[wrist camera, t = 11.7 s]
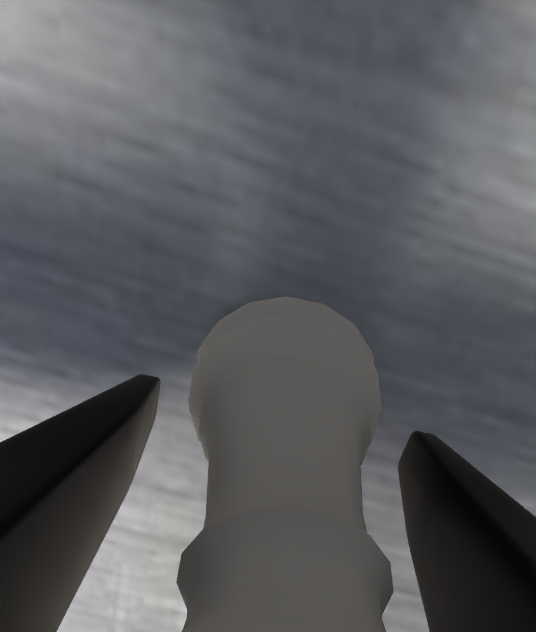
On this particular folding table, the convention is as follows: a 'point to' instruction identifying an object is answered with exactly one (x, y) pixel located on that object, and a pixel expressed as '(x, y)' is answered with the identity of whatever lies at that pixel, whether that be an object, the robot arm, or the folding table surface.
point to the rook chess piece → (284, 475)
